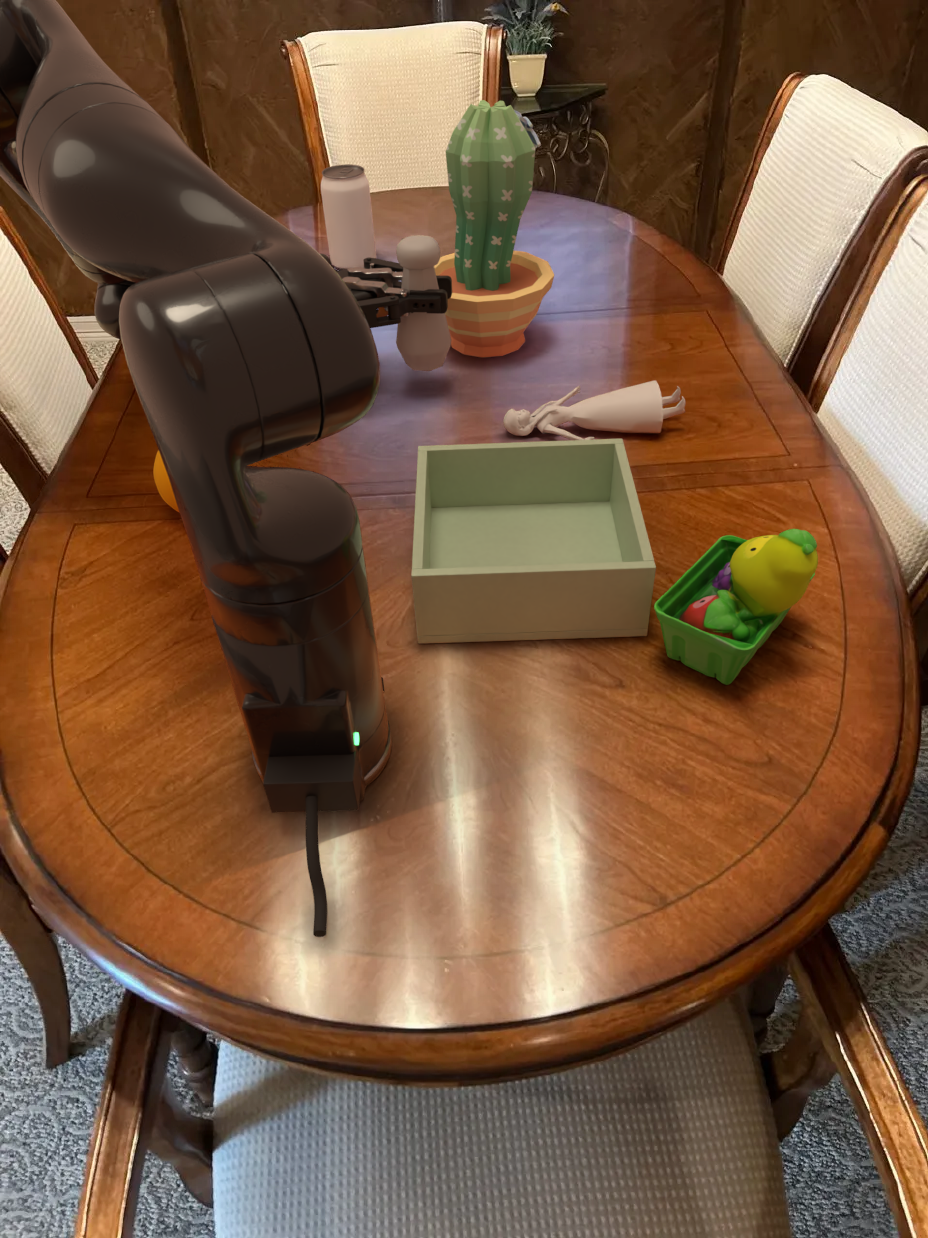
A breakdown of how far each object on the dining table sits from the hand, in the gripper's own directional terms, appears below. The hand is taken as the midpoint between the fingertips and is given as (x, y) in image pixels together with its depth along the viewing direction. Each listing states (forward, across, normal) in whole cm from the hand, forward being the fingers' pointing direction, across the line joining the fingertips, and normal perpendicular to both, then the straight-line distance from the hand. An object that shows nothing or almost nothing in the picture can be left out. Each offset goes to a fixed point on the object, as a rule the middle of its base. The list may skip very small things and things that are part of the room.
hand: (448, 294), depth 93 cm
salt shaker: (-3, 0, +8) cm, 8 cm away
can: (-18, +36, +10) cm, 41 cm away
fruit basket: (+26, -38, +11) cm, 48 cm away
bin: (+10, -30, +11) cm, 34 cm away
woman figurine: (+15, -8, +11) cm, 20 cm away
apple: (-20, -23, +11) cm, 33 cm away
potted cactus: (+3, +12, +11) cm, 16 cm away
